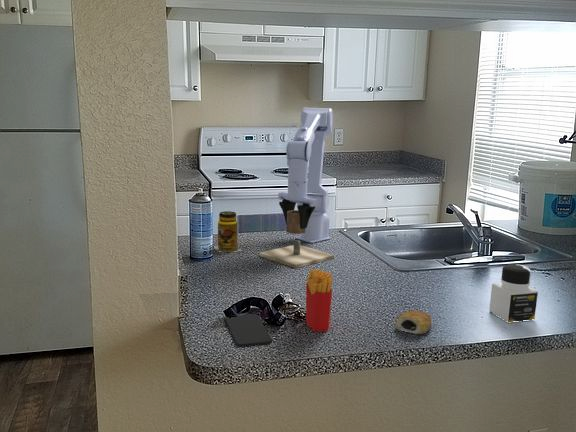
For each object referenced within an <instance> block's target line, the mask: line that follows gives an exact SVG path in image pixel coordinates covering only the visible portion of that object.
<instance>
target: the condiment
mask: <svg viewBox="0 0 576 432" xmlns="http://www.w3.org/2000/svg"><path fill="white" fill-rule="evenodd" d="M218 217H219V218H218V219H219V220H218V222H217V245H215V246H214V248H213V249H214V250H215V251H217V249H218V248H219V249H218V250H219V251H221V252H230V253H229V254H231V253H237V252H243V251H244V250H242V249H241V248H239V247H238V220H237V213H236V212H235V211H230V210H229V211H220V212H219V215H218Z"/></svg>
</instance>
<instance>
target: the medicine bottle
mask: <svg viewBox="0 0 576 432" xmlns="http://www.w3.org/2000/svg"><path fill="white" fill-rule="evenodd" d="M501 269H502V271H501V278H500V282H494V283H491V292H490V301H489V309H488V311H491V312H492V313H494V314H495V315H497V316H499V317H501V318H502V319H504V320H506V321H508V322H513V321H523V320H532V319H534V320H535V317H536V311H537V309H536V308H537V304H538V294H539V293H538V292H539V291H538V290H536V289H534V288H532V287H530V285H531V276H532V269H530V268H529V267H527V266H526V265H522V264H517V263H516V264H515V263H510V264H509V263H508V264H506V265H504V266H502V268H501ZM492 313H491V314H492ZM494 314H493V315H494ZM495 315H494V316H495ZM497 316H496V317H497ZM499 317H498V318H499ZM502 319H501V320H502ZM504 320H503V321H504Z"/></svg>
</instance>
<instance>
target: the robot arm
mask: <svg viewBox="0 0 576 432" xmlns="http://www.w3.org/2000/svg"><path fill="white" fill-rule="evenodd" d="M300 124H301V125H302V126H301V127H299V128H298V130H297V131H296V133H295V135H294V138H293V139H292V140H290V142H289V141H288V142H287V145H286V149H285V151H286V152H285V153H286V155H285V156H286V160H287V161H286V163H287V164H286V165H287V166H288V169H287V170H288V172H287V175H288V176H287V177H288V178H287V192H278V194H277V195H278V198H277V199H278V200H281V201H279V202H278V204H279V207H280V209H281V211H282V213H283V217H284V221H285V225H286V226H287V211H290V210H299V215H300V228H301V229H304V228H305V233H302V234H300V235H299V236H295V239H296V240H299V241H302V242H303V241H304V242H307V243H310V244H312V243H313V244H314V243H318V242H322V241H323V242H324V241H325V240H326V241H327V240H331V237H330V218H329V215H328V214H327V212H328V210H329V192H328V190H327V188H325V187H324V186H323V185H322V177H323V176H322V175H323V163H324V153H325V142H326V139H327V136H328V137H329V136H330V135H331V134H332V132H333V126H334V125H333V124H334V111H333V109H332V108H331V107H328V108H326V107H325V108H323V107H321V108H320V107H306V106H304V107H303V108H302V109H301V112H300ZM295 207H296V208H297V209H295Z"/></svg>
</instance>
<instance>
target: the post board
mask: <svg viewBox="0 0 576 432" xmlns="http://www.w3.org/2000/svg"><path fill="white" fill-rule="evenodd" d="M258 255H259V257H262V258H264V259H267V260H271V261H274V262H275V263H276V262H277V263H279V264H283V265H285V266H288V267H291V268H295V269H298V268H299V269H300V268H302V267H306V266H311V265H314V264H318V263H321V262H325V261H328V260H329V261H330V260H333V259H335V255H334V254H333V253H332V254H331V253H328V252H325V251H321V250H317V249H315V248H311V247H308V246H304V245H301V240H299V239H296V240H293V244H292V245H291V244H290V245H287V246H284V247H278V248H273V249H269V250H266V251H261V252H259V254H258Z"/></svg>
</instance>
